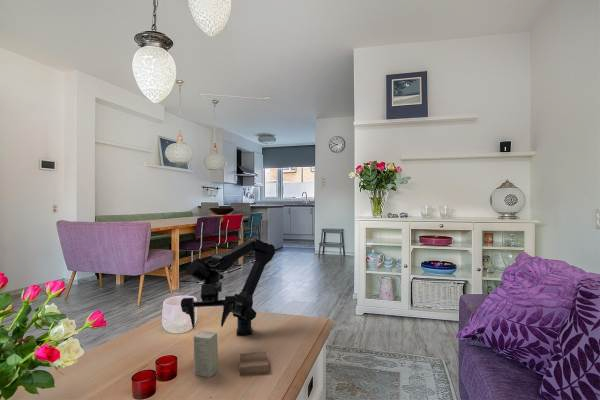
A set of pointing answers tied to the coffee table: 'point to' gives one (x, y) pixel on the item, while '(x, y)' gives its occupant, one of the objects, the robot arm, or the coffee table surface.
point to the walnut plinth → (254, 363)
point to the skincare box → (205, 354)
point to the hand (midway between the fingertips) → (207, 327)
